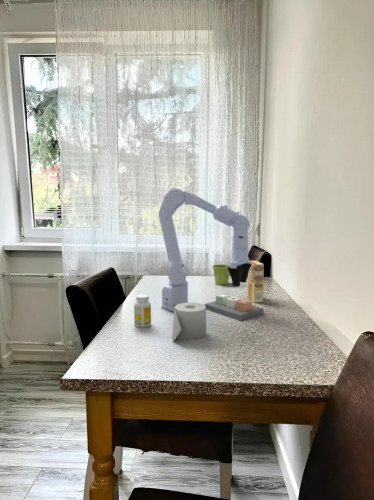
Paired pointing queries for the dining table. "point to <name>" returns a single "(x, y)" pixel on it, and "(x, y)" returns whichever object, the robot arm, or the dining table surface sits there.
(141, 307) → the supplement bottle
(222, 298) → the key sage
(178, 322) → the toilet tissue
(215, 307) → the keypad
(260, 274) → the candy box
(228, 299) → the key ivory
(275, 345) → the dining table surface
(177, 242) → the robot arm
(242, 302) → the key peach
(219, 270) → the plant pot
